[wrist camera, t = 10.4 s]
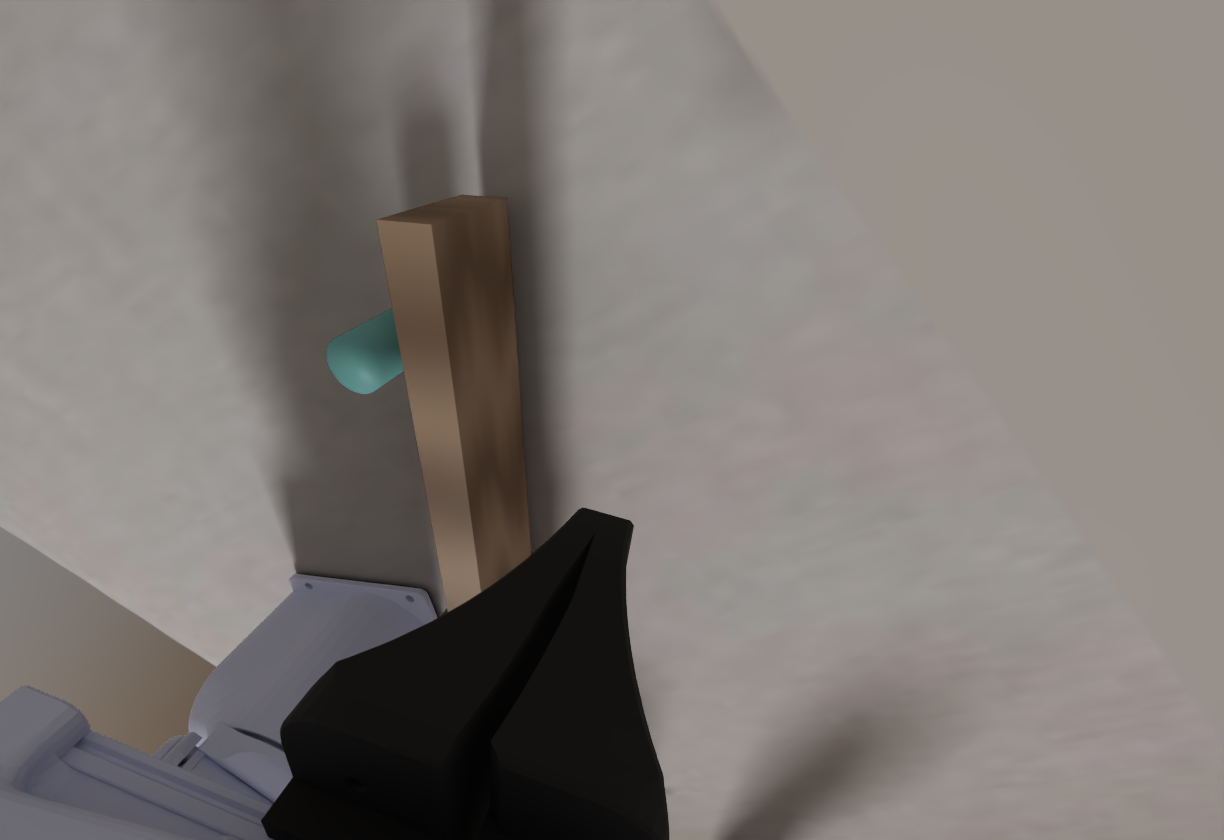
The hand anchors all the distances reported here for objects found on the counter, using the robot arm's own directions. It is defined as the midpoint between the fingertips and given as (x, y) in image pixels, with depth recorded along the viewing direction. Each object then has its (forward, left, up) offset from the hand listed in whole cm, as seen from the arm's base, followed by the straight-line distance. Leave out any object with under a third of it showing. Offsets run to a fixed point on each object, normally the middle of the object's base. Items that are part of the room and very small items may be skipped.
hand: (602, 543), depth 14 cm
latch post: (-9, +4, -8) cm, 13 cm away
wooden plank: (-7, -3, -8) cm, 10 cm away
